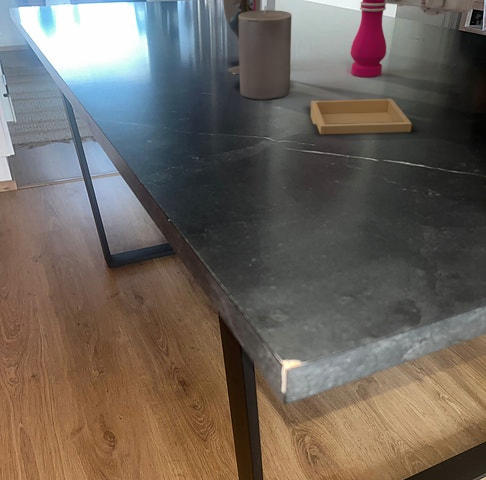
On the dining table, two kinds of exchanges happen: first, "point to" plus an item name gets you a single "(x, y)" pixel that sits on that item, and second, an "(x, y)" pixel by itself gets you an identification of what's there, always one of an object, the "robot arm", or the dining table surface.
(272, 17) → the pillar candle
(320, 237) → the dining table surface
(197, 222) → the dining table surface
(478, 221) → the dining table surface
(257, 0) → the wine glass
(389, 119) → the tray
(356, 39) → the pepper mill
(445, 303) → the dining table surface
